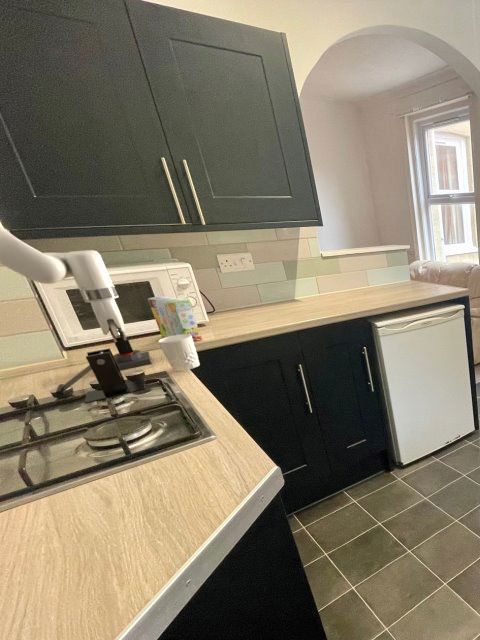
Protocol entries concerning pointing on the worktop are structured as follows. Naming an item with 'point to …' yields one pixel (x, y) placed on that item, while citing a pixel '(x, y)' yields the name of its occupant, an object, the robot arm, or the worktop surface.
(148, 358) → the button box
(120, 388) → the lever stand
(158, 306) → the snack box
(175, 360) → the white cup
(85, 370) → the press lever
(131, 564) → the worktop surface
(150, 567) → the worktop surface
